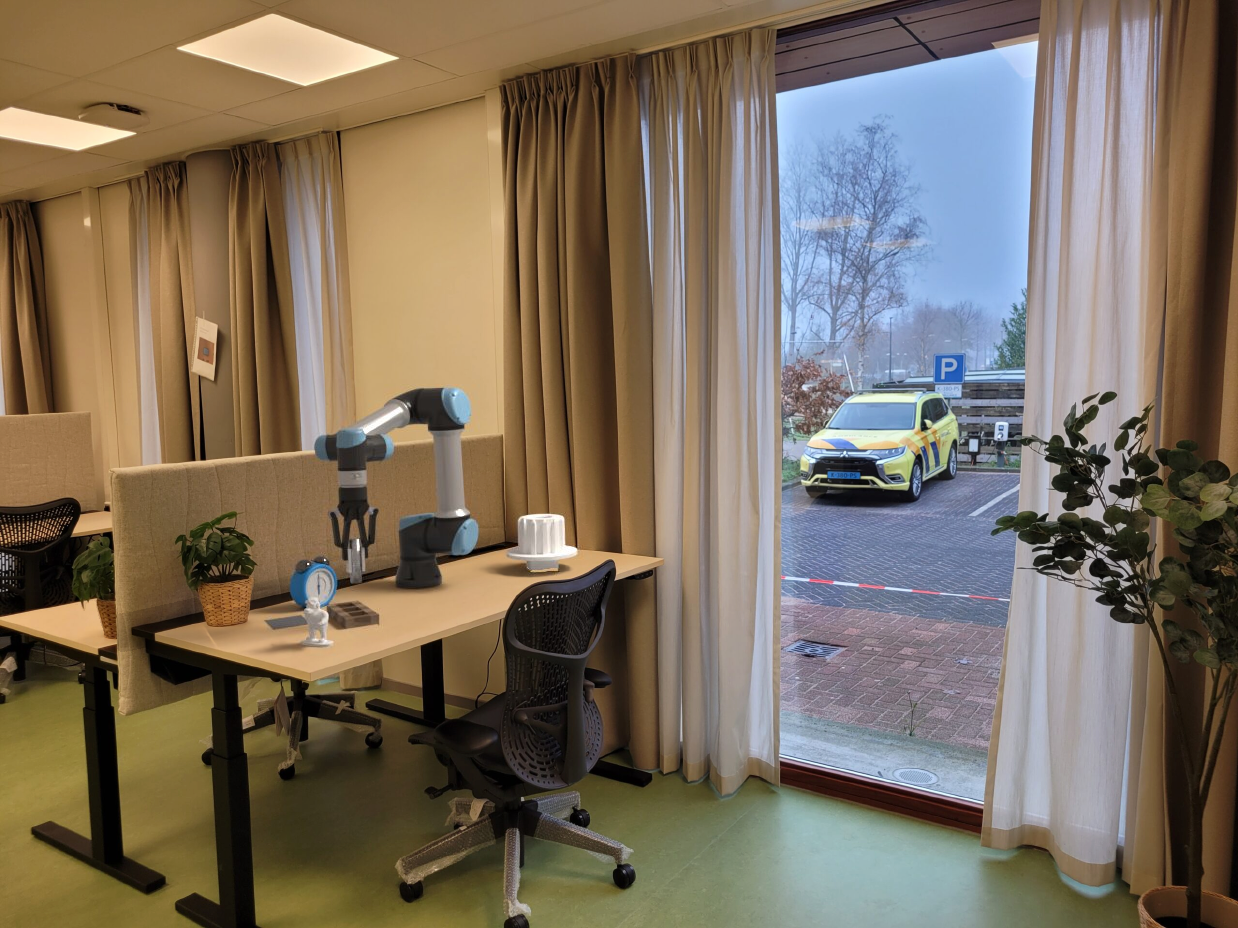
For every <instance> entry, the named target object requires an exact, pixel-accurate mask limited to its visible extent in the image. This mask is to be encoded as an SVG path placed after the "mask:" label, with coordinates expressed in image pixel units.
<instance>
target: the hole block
mask: <svg viewBox="0 0 1238 928" xmlns="http://www.w3.org/2000/svg"><path fill="white" fill-rule="evenodd" d="M325 607H326V612H327V613H328V615H329V617H330V618H331V619H333V620H334V621H335V622H337V623H338V624H339V625H341V626H342V627H343V628H345V630H349V629H355V628H361V627H366V626H373V625H374V626H375V625H378V626H380V614H379V613H378V612H376V611H374V610H373V609H372V608H370V607H369V606H367V605H365V604H363V602H361V601H359V600H353V601H345V602H339V603H329V605H326V606H325Z"/></svg>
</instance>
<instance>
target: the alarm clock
mask: <svg viewBox="0 0 1238 928" xmlns="http://www.w3.org/2000/svg"><path fill="white" fill-rule="evenodd" d="M330 564H331V563H330V560H329V559H328V557H326V556H325V555H318V556H316V557H314V558H312V559H310V560H309V559H307V558H304V559H301V560H299V561H297V562H296V564H295V565H294V570H295V571H294V572H293V574H292V576H291V579H290V582H289V583H290V584H289V593H290V596H291V598H292V600H293V601H294V602H295V604H297V605H299V606H301V607H306V606H307V603H305V601H306V600H308V599H309V598H313V597H317V598H318V602H319V604H320V608H323V607H327V606H326V605H330V602H332V600H333V599H334V597H335V594H336V591H337V588H338V579H337V575H336V572H335V571H334V569H333V568H332V567H331V566H330Z"/></svg>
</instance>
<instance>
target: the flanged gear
mask: <svg viewBox="0 0 1238 928" xmlns="http://www.w3.org/2000/svg"><path fill="white" fill-rule="evenodd" d="M565 525H566V524H565V517H564V516H563V515H560V514H554V513H553V514H552V513H536V514H535V513H534V514H527V515H521V516H520V517H519V518H518V519H517V543H518V545H517V547H513V548H509V549H507V550H506V554H505V555H506V557H507V558H508V559H511V560H517V561H526V562H525V563H526V568H527V567H528V568H529V570H530V571H532V570H543V569H550V568H558V569H559V560H565V559H568V558H569V559H570V558H572V557H575V556H577V555H578V548H577V547H575V546H570V545H566V530H565V528H566V527H565ZM529 570H528V571H529Z"/></svg>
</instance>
